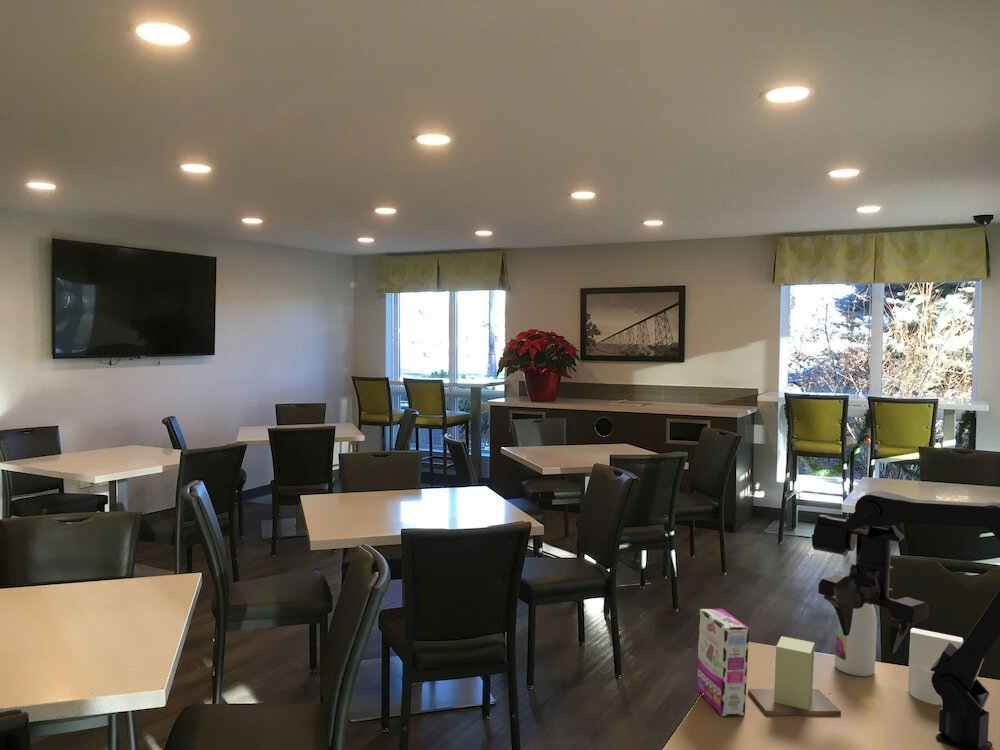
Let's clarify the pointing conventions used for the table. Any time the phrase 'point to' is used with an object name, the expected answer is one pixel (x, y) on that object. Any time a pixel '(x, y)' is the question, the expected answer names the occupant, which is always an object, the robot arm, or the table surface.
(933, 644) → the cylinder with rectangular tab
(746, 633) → the candy bar box
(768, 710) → the walnut stud board
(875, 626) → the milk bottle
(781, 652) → the pale green upright block
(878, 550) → the robot arm
